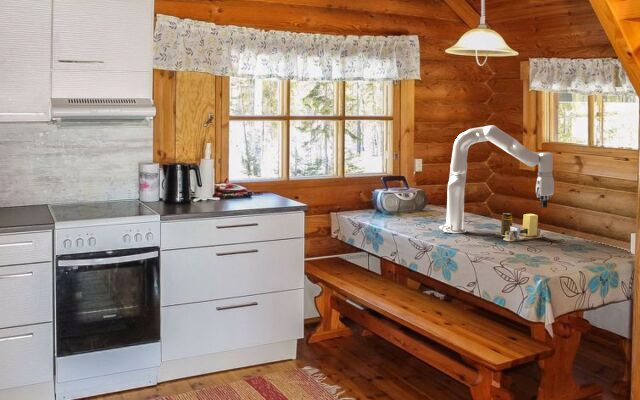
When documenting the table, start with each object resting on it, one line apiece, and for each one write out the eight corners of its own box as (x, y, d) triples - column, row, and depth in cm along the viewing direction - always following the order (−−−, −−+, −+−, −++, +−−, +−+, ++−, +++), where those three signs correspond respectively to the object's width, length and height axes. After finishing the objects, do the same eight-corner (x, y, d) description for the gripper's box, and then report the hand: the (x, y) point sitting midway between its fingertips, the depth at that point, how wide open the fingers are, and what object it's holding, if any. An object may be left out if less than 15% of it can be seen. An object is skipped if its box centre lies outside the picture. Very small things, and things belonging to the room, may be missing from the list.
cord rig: (509, 241, 378) (509, 232, 377) (503, 239, 382) (503, 230, 382) (541, 237, 389) (542, 228, 388) (535, 235, 394) (535, 227, 393)
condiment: (514, 234, 396) (516, 214, 394) (504, 236, 391) (505, 215, 390) (505, 232, 402) (506, 212, 400) (494, 234, 397) (495, 213, 396)
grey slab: (516, 239, 380) (517, 228, 379) (509, 237, 385) (510, 226, 384) (519, 238, 381) (520, 227, 380) (512, 237, 386) (513, 226, 385)
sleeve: (528, 236, 384) (530, 215, 383) (522, 234, 389) (523, 214, 387) (536, 235, 387) (538, 215, 385) (530, 233, 391) (531, 213, 390)
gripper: (540, 176, 380) (539, 209, 383) (560, 174, 387) (558, 207, 390) (530, 174, 387) (529, 207, 389) (549, 173, 393) (548, 205, 396)
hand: (543, 207), depth 390 cm, fingers closed
